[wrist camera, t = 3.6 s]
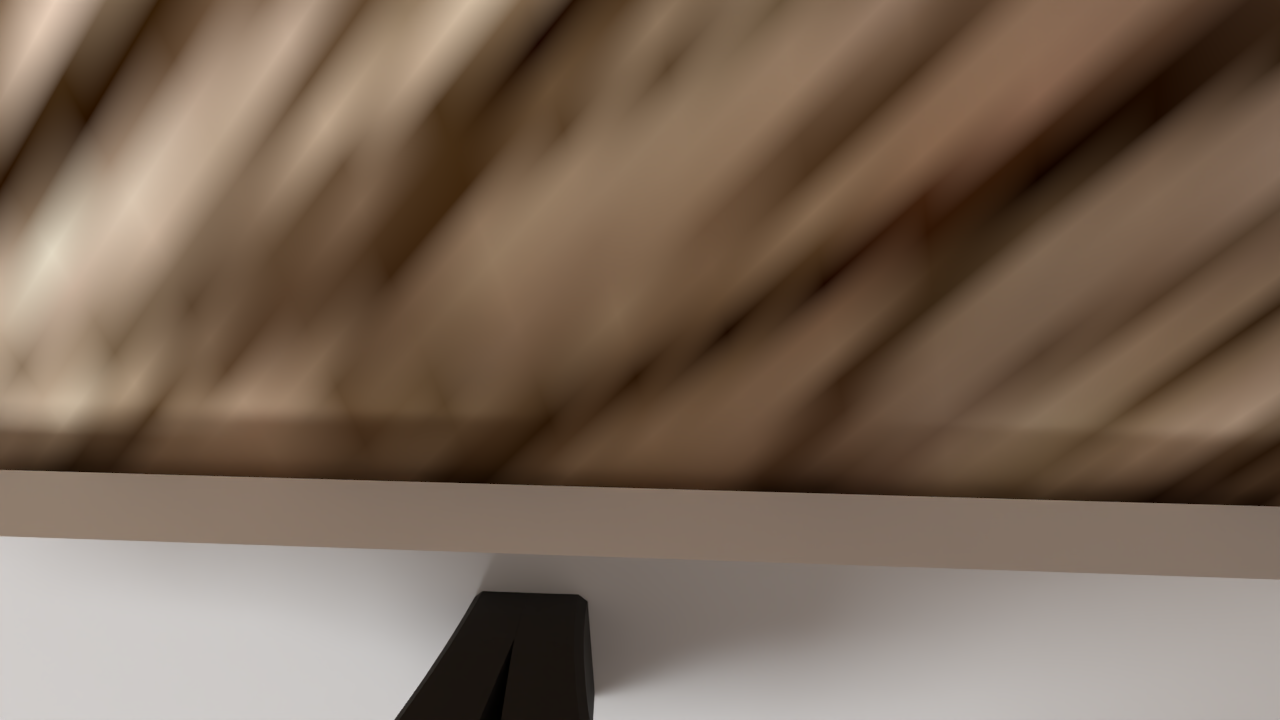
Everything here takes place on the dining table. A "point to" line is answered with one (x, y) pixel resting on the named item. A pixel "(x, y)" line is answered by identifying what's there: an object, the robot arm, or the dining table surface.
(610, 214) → the dining table surface
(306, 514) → the grey plank
